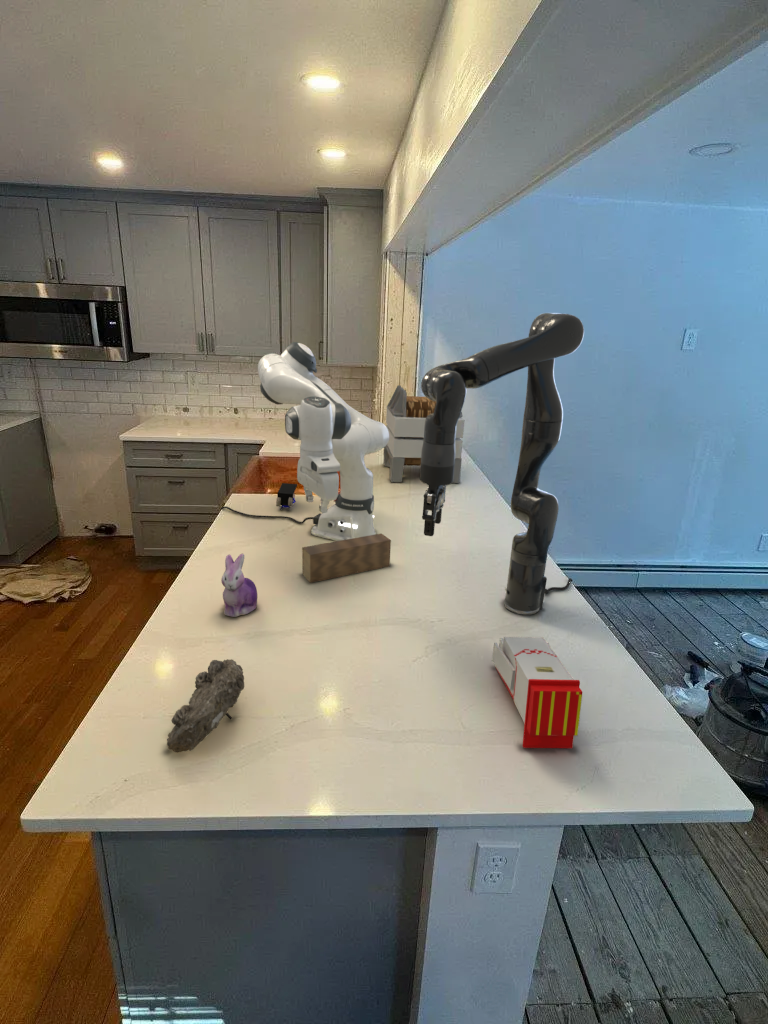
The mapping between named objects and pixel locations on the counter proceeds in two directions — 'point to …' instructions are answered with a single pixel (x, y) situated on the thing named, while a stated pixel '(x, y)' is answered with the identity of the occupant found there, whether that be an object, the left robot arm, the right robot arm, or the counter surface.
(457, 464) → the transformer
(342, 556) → the box
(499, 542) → the counter surface
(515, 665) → the toy
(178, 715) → the fossil
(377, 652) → the counter surface
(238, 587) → the figurine
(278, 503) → the figurine character
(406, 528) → the counter surface
